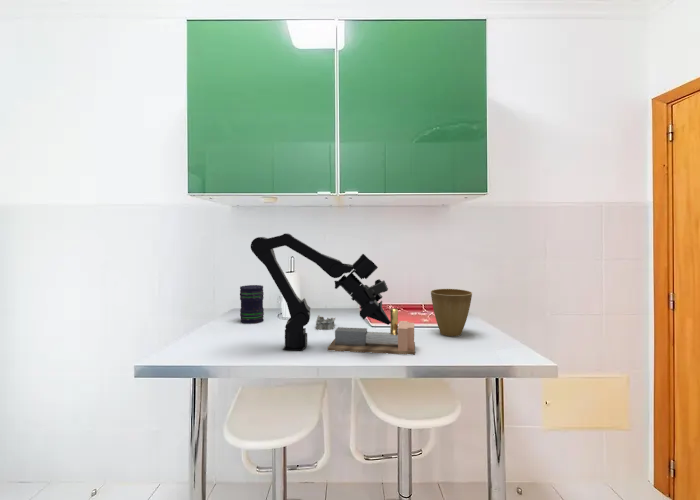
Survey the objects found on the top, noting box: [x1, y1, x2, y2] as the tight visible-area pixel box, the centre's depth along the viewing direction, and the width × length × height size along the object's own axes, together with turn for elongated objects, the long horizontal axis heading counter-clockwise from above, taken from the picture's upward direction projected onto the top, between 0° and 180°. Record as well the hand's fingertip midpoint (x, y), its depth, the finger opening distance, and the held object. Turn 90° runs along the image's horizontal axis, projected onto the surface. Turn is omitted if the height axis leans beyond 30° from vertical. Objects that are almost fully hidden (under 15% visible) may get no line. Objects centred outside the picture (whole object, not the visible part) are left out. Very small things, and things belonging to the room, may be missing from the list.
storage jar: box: [239, 284, 265, 325], centre depth 171 cm, size 10×10×15 cm
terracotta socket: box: [398, 320, 415, 351], centre depth 130 cm, size 5×10×7 cm, turn 171°
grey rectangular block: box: [334, 326, 368, 347], centre depth 133 cm, size 10×5×5 cm, turn 81°
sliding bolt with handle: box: [366, 308, 399, 344], centre depth 131 cm, size 14×3×11 cm, turn 81°
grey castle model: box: [315, 314, 336, 331], centre depth 161 cm, size 11×8×4 cm
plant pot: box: [430, 288, 473, 337], centre depth 149 cm, size 15×15×16 cm
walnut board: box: [327, 338, 416, 356], centre depth 132 cm, size 28×11×1 cm, turn 81°
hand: (389, 323), depth 130 cm, fingers closed, pressing on sliding bolt with handle
